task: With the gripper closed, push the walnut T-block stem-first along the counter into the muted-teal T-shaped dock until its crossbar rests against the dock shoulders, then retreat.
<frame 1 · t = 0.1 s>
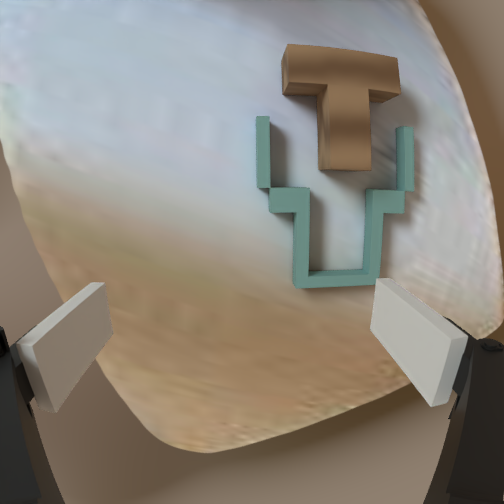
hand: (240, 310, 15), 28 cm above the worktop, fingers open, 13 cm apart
dock: (336, 166, 40), on the worktop
t block: (333, 80, 38), on the worktop
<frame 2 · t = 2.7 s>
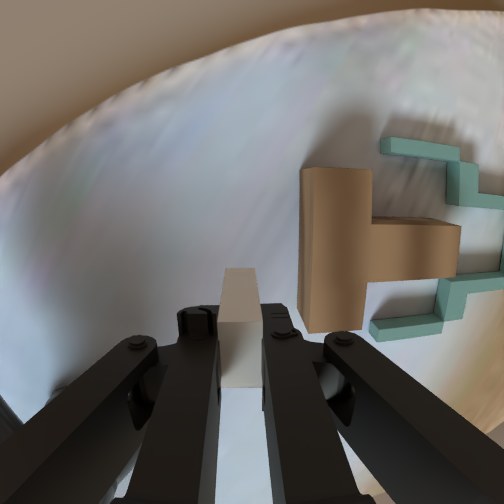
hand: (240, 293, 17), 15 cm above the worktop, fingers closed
dock: (424, 240, 32), on the worktop
t block: (323, 240, 32), on the worktop
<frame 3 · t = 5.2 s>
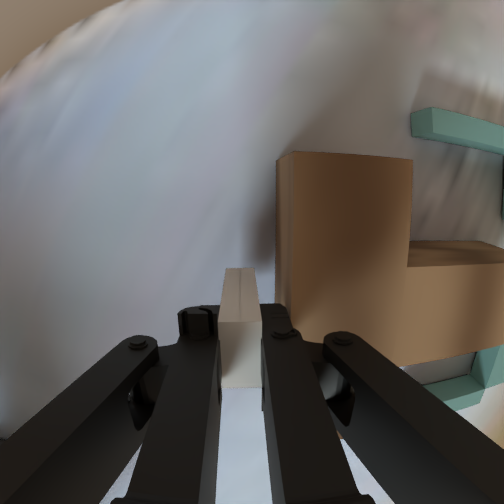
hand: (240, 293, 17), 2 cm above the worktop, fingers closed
dock: (471, 275, 19), on the worktop
t block: (317, 282, 19), on the worktop, touching gripper
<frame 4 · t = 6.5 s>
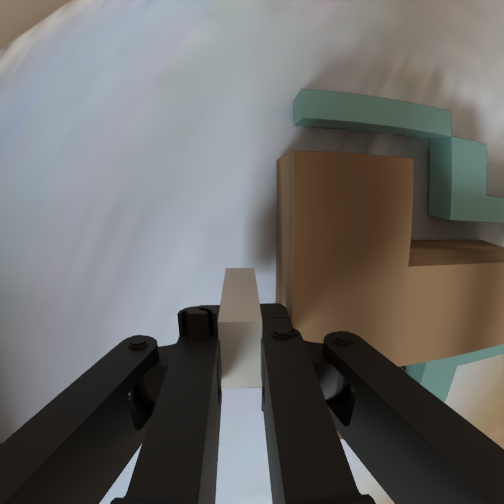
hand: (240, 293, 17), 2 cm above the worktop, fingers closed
dock: (385, 280, 19), on the worktop
t block: (318, 282, 19), on the worktop, touching gripper
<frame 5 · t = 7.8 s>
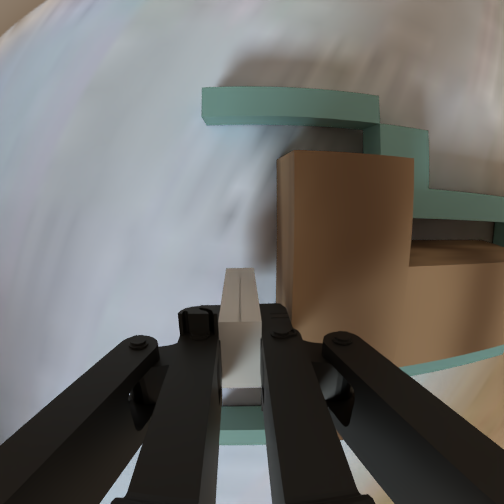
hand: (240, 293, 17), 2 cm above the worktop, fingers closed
dock: (313, 283, 19), on the worktop
t block: (318, 282, 19), on the worktop, touching dock, gripper
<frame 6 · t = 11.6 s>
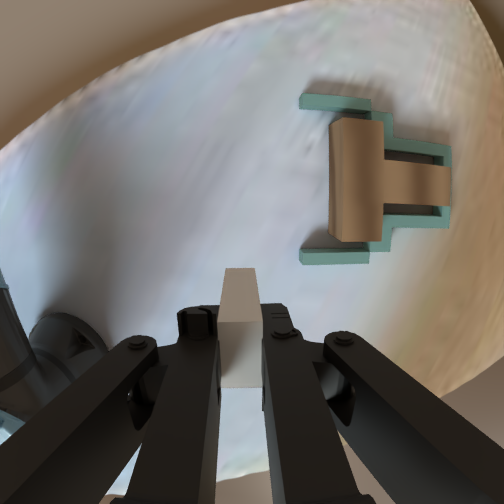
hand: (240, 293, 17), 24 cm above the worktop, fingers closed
dock: (345, 179, 40), on the worktop
t block: (347, 179, 40), on the worktop
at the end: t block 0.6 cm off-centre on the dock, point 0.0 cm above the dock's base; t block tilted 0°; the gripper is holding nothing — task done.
